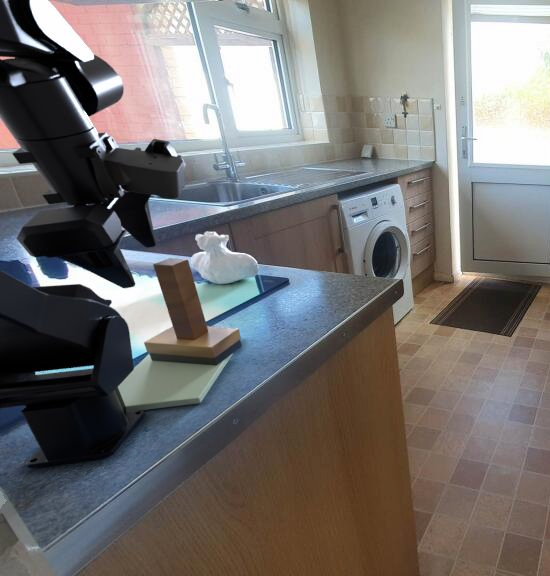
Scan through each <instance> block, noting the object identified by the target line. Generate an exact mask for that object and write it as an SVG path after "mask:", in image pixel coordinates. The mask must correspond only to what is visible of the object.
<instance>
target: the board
mask: <svg viewBox="0 0 550 576" xmlns="http://www.w3.org/2000/svg"><path fill="white" fill-rule="evenodd" d="M233 354H234V353H233ZM233 354H231V355H230V356H229V357H227V358H226V359H225V360H223V361H222V362H221V363H219V364H218V365H203V364H190V363H177V362H164V361H152V360H151V357H150V354H149V353H147V355H146V356H145V357H144V358H143V359H142V360H141V361H140V362H139V363H138V364H136V366H134V370H133V371H132V372H131V373H130V374H129V375H128V376H127V377H126V379H125V380H124V381H123V382H122V383H121V384H120V385H119V386H118V389H119V391H120V394H121V396H122V399H123V401H124V404H125V406H126V412H129V411H137V410H144V411H148V410H155V409H163V408H173V407H180V406H188V405H197V404H198V405H199V404H201V403H202V402H203V400H204V399H205V397H206V396H207V395H208V393H209V391H210V389H211V388H212V386H213V385H214V384H215V382H216V381H217V379H218V377H219V376H220V374H221V373H222V371H223V370H224V368H225V367H226V365H227V364H228V362H229V361H230V360H231V358H232V356H233Z"/></svg>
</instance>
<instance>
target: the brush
mask: <svg viewBox="0 0 550 576" xmlns="http://www.w3.org/2000/svg"><path fill="white" fill-rule="evenodd" d="M152 266H153V268H154V271H155V275H156V277H157V281H158V284H159V288H160V291H161V294H162V297H163V300H164V303H165V306H166V309H167V312H168V316H169V319H170V322H171V325H172V326H171V327H168V328H167V329H165V330H163V331H162V332H160V333H158V334H156V335H154V336H153V337H151V338H149V339H147V340H146V341H144V342H143V345H144V347H145V350H146V353H147V354H150V357H151V360H152V361H164V362H177V363H190V364H203V365H218V364H219V363H221V362H222V361H223V360H225V359H226V358H227V357H229V356H230V355H231V354H235V352H237V351H238V350H239V349H241V348H242V347H243V345H242V341H241V339H242V336H241V332H240V329H239V328H235V327H234V328H233V327H222V326H221V327H220V326H208V325H207V321H206V318H205V314H204V311H203V308H202V303H201V301H200V297H199V294H198V289H197V286H196V283H195V279H194V275H193V272H192V268H191V264H190V261H189V259H188V258H175V257H174V258H173V257H172V258H171V257H169V258H167V259H164V260H161V261H158V262H156V263H154V264H152Z"/></svg>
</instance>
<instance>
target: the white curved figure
mask: <svg viewBox="0 0 550 576" xmlns="http://www.w3.org/2000/svg"><path fill="white" fill-rule="evenodd" d="M229 237H230V236H229V235H228V234H220V235H219V234H218V233H217V232H216V231H209V230H207V231H205V232H203V234H202V233H201V234H200V233H197V234H196V235H195V238H194V240H195V241H196V243H197V244H196V246H198V248H199V249H200V250H202V251H199V252H196V253H193V255H191V259H190V262H191V263H190V266H192V267H193V268H194V269H195V270H196V271H197V272H198V274H200V276H201V278H202V279H205V281H209V282H211V283H212V284H219V285H225V284H226V285H227V284H231V283H235V282H238V281H241V280H245V279H251V278H255V277H256V276H257V275H258V274H259V269H260V268H259V264H258V261H257V260H256V259H255V258H254V257H253V256H252V255H250V254H247V253H244V252H233V251H231V250H229V248H228V247H227V243H228V241H230V238H229Z"/></svg>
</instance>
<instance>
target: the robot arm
mask: <svg viewBox="0 0 550 576" xmlns="http://www.w3.org/2000/svg"><path fill="white" fill-rule="evenodd" d="M2 58H3V59H2ZM124 88H125V87H124V83H123V80H122V78H121V75H119V74H118V73H117V71H116V70H115V68H113V66H111V64H109V63H108V62H107V61H105V60H104V59H103V58H101V57H100V56H98V55H95V54H94V53H93V51H92V50H91V49H90V48H89V46H88V45H87V44H86V43H85V42H84V41H83V39H82V38H81V37H80V35H79V34H78V33H77V32H76V31H75V29H73V27H72V26H71V25H70V24H69V22H68V21H67V20H66V19H65V18H64V16H62V14H61V13H60V12H59V10H58V9H57V8H56V7H55V6H54V5H53V4H52V2H51V1H50V0H0V120H1V121H2V123H3V124H4V126H5V127H6V129H7V130H8V131H9V133H10V134H11V136H12V137H13V139H14V140H15V141H16V143H17V144H18V145H19V148H18V149H16V150H15V151H13V152H12V153H11V154H12V155H13V157H14V159H15V160H16V161H17V163H18V165H25V164H32V165H33V166H34V168H35V169H36V171H37V172H38V174H39V175H40V177H41V178H42V179H43V181H44V182H45V184H46V185H47V186H48V188H49V189H47V190H46V191H45V192H44V193H43V194H42V197H43V198H44V199H45V201H46V203H47V205H57V204H64V203H66V205H67V206H68V207H62V208H54V209H48V210H47V209H46V210H39V211H38V212H37V213H36V214H35V215H34V216H32V218H30V219H29V220H28V221H27V222H26V223H25V224H24V225H23V226H22V227H21V228H20V230H19V232H18V233H17V236H16V237H15V239H16V240H17V242H18V243H20V245H21V247H23V249H24V250H25V251H26V252H27V254H28V255H29V256H30V257H33V258H40V257H45V258H46V259H52V258H58V259H59V260H62V261H65V262H67V263H69V264H72V265H75V266H76V267H78V268H80V269H83V270H86V271H88V272H89V273H92V274H94V275H96V276H97V277H100V278H102V279H103V280H105V281H107V282H110V283H112V284H113V285H116V286H118V287H120V288H121V289H130V288H134V287H135V286H136V281H135V279H134V275H133V273H132V271H131V269H130V267H129V265H128V262H127V260H126V258H125V255H124V254H123V252H122V250H121V247H120V244H121V242H122V240H123V239H124V237H125V236H126V234H127V233H128V234H129V235H130V236H131V237H132V238H133V239H134V240H136V241H137V242H138V243H139V244H141V245H142V246H143V247H144V248H147V249H148V248H149V249H150V248H155V247H156V246H157V241H156V236H155V230H154V226H153V221H152V216H151V215H152V214H151V210H150V204H149V201H150V198H151V197H152V196H158V197H160V198H161V199H167V200H173V199H178V198H180V196H181V193H182V191H183V189H184V188H185V187H186V182H185V181H186V179H185V178H186V177H185V169H186V167H187V163H186V162H185V160H184V159H183V155H181V154H178V152H177V151H176V150H175V148H174V147H173V145H172V143H171V142H170V141H169V140H163V139H158V138H153V139H152V140H151V141H150V142H149V144H148V145H147V146H146V148H145V149H144V150H142V148H141V147H135V148H134V149H129V148H123V147H122V148H121V147H120V146H119V145H118V144H117V142H116V140H115V138H114V137H113V136H112V135H109V134H108V132H98V131H97V129H96V128H95V126H94V124H93V123H92V121H91V119H90V117H92V116H93V115H96V114H97V113H99V112H102V111H103V110H106V109H107V108H110V107H112V106H113V105H115V104H117V103H118V102H119V101H121V99H122V98H123V95H124V91H125V90H124ZM69 206H71V207H69ZM112 303H113V301H112V299H106V298H103V297H101V296H100V295H99V294H97V293H96V292H95V291H94V290H93V289H92V288H91V287H88V286H86V285H83V284H81V283H73V284H60V285H59V284H58V285H57V284H55V285H42V286H41V285H40V286H31V285H29V284H27V283H26V282H25V281H22V280H21V279H19V278H17V277H14V276H13V275H11V274H9V273H8V272H6V271H4V270H2V269H0V410H1V409H7V408H8V409H9V408H16V407H24V408H23V409H22V410H21V411H20V413H21V415H22V416H23V418H24V420H25V422H26V424H27V425H28V427H29V429H30V431H31V433H32V436H33V437H34V439H35V441H36V442H37V443H36V444H38V446H39V450H37V451H36V452H35V453H34V454H33V455H32V456H31V457H30V458H29V459H28V460H27V461H26V462H25V465H26V466H27V468H28V469H34V468H35V469H36V468H41V467H49V466H56V465H63V464H71V463H76V462H83V461H90V460H91V461H92V460H98V459H105V458H108V457H110V456H112V455H114V453H115V452H116V451H117V450H118V449H119V448H120V446H122V444H123V443H124V441H125V440H126V439H127V438H128V436H129V435H130V434H131V433H132V432H133V431H134V429H135V428H136V427H137V425H138V424H139V423H141V421H142V420H143V419H144V417H145V415H146V413H145V410H137V411H129V412H126V406H125V404H124V401H123V399H122V396H121V394H120V391H119V389H118V386H119V385H120V384H121V383H122V382H123V381H124V380H125V379H126V377H127V376H128V375H129V374H130V373H131V372H132V371H133V370H134V368H135V366H134V359H133V350H132V343H131V334H130V333H131V332H130V327H129V324H128V322H127V320H126V319H125V318H124V317H122V315H121V314H120V312H118V311H117V310H116V309H115V308H113V307H112V306H111V305H112ZM85 367H91V368H85ZM76 368H82V369H76ZM83 368H84V369H83ZM67 369H74V370H67ZM58 370H67V371H58ZM49 371H56V372H50V373H40V372H49ZM38 372H39V373H40V374H39V373H38ZM36 373H38V374H36Z"/></svg>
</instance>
